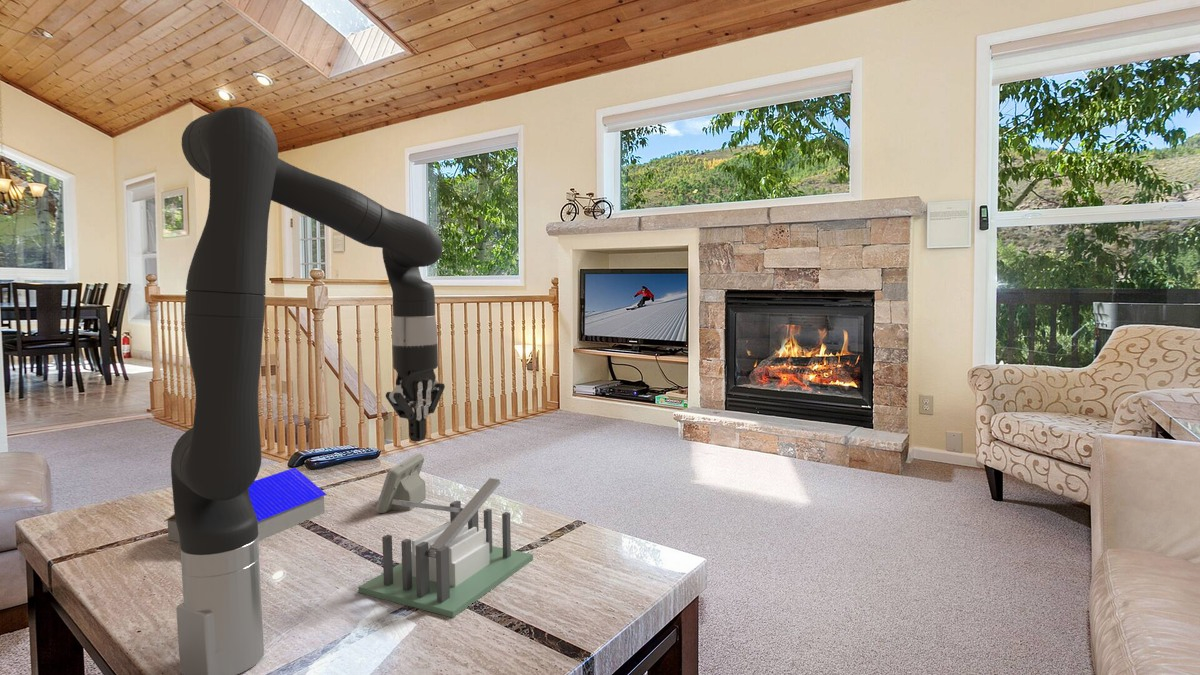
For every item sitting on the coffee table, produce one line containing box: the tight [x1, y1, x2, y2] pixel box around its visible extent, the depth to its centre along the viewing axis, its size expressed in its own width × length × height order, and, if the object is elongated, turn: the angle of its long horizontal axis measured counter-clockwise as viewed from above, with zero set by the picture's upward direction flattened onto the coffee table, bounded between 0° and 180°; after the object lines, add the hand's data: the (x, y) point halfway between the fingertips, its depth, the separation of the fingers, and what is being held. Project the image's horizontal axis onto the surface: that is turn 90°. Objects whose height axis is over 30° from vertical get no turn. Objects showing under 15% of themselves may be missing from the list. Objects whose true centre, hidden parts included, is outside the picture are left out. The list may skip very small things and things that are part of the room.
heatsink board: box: [357, 500, 534, 619], centre depth 117 cm, size 24×20×10 cm
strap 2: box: [425, 477, 501, 558], centre depth 114 cm, size 20×2×1 cm, turn 154°
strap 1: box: [392, 499, 464, 513], centre depth 118 cm, size 20×2×1 cm, turn 155°
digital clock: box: [376, 453, 427, 514], centre depth 155 cm, size 16×9×11 cm, turn 159°
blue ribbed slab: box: [163, 467, 327, 543], centre depth 141 cm, size 19×25×10 cm
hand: (418, 440), depth 114 cm, fingers closed
